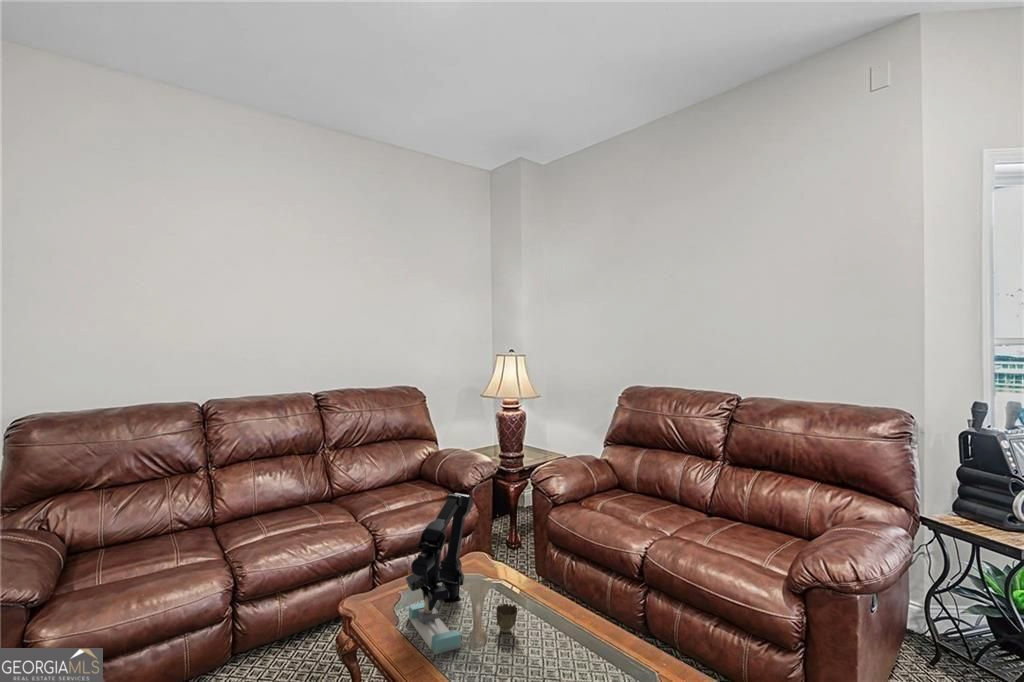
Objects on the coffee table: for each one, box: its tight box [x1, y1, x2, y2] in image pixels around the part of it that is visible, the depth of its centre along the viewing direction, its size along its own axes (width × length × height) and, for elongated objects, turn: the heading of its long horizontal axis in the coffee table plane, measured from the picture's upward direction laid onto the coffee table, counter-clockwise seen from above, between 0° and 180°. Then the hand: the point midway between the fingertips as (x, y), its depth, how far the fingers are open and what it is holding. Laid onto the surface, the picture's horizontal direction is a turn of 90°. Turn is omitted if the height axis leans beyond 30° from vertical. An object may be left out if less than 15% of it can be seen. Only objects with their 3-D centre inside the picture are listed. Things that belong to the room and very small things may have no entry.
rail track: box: [407, 602, 462, 656], centre depth 179 cm, size 9×23×4 cm, turn 32°
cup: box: [495, 603, 518, 634], centre depth 183 cm, size 8×7×8 cm
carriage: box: [417, 596, 439, 624], centre depth 183 cm, size 6×4×8 cm
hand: (428, 608), depth 183 cm, fingers closed on carriage, 3 cm apart
